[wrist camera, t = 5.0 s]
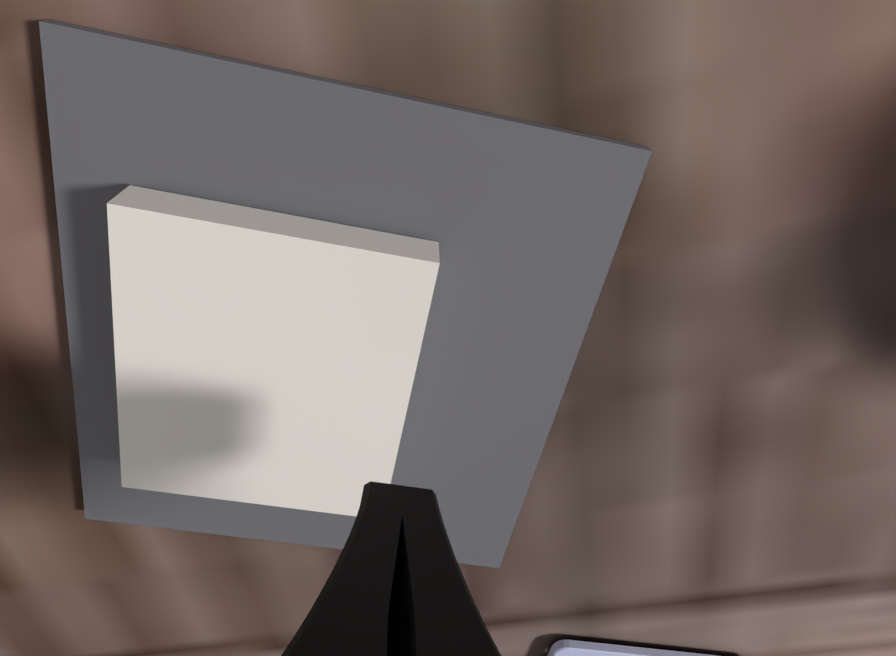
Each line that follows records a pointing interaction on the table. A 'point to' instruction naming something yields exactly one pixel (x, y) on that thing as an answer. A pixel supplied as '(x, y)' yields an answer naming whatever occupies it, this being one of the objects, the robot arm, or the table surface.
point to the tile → (261, 349)
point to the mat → (354, 204)
